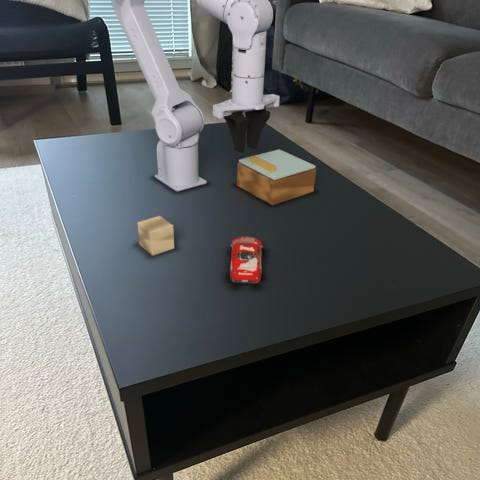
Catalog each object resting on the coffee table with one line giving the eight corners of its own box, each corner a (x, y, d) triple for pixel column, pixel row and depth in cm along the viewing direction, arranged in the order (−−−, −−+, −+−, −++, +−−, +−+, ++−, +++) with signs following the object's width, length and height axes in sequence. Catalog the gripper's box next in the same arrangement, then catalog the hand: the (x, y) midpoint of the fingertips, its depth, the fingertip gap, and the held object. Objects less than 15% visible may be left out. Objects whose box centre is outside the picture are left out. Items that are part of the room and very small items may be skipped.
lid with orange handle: (238, 161, 107) (239, 154, 106) (279, 151, 113) (279, 143, 112) (274, 180, 100) (275, 172, 99) (315, 168, 106) (316, 160, 105)
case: (236, 185, 111) (237, 163, 107) (277, 173, 117) (279, 152, 113) (272, 205, 103) (274, 182, 100) (313, 191, 109) (316, 169, 106)
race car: (232, 245, 90) (232, 225, 88) (262, 247, 90) (263, 227, 87) (226, 286, 80) (227, 265, 77) (260, 288, 80) (262, 267, 77)
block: (139, 245, 89) (137, 222, 86) (161, 237, 91) (159, 215, 88) (152, 255, 86) (150, 232, 83) (174, 248, 88) (173, 225, 86)
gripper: (229, 84, 84) (228, 163, 93) (292, 74, 92) (286, 148, 100) (205, 76, 89) (206, 152, 97) (267, 66, 96) (263, 138, 104)
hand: (245, 149), depth 99 cm, fingers open, 3 cm apart
